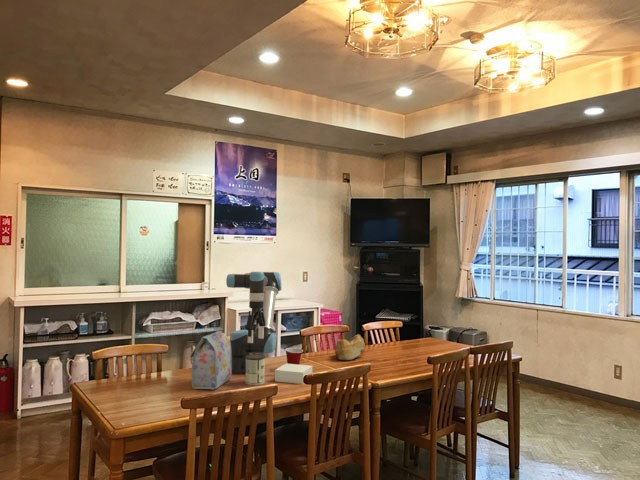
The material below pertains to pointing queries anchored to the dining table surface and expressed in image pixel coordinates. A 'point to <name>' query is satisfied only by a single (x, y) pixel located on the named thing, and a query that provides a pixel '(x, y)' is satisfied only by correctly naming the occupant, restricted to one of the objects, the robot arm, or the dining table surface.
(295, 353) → the plastic cup
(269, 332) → the robot arm
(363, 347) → the rough brown rock
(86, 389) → the dining table surface
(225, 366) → the lunch bag
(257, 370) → the coffee can
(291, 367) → the white square box
